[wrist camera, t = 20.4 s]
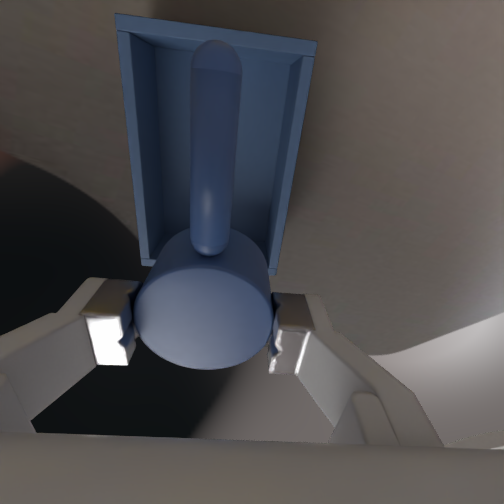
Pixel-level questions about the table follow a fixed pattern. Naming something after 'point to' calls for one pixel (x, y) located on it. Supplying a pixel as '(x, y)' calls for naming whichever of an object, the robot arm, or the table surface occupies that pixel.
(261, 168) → the blue bin
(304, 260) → the table surface
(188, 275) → the blue scoop
